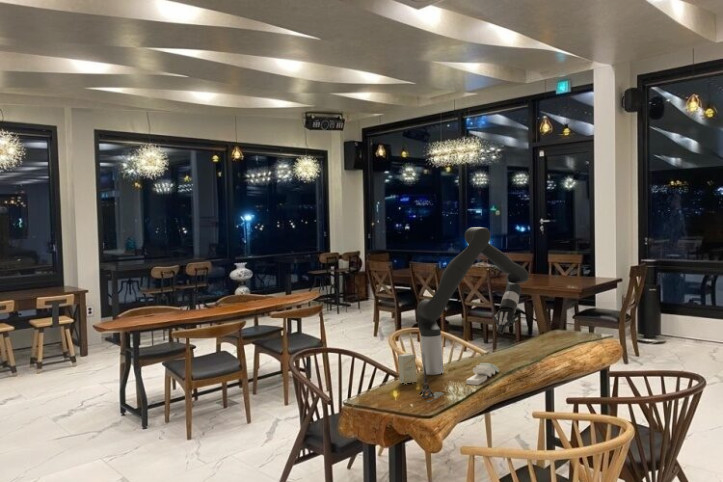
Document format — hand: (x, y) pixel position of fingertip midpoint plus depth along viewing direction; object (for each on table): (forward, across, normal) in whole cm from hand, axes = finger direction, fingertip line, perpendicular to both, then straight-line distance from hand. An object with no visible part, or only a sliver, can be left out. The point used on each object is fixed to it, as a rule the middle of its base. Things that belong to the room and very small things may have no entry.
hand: (500, 333), depth 258 cm
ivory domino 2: (+26, 0, -5) cm, 27 cm away
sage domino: (+17, 0, +4) cm, 18 cm away
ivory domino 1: (+23, 0, -2) cm, 24 cm away
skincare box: (+40, -25, -17) cm, 50 cm away
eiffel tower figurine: (+50, -7, -27) cm, 57 cm away
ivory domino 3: (+20, 0, +1) cm, 20 cm away
